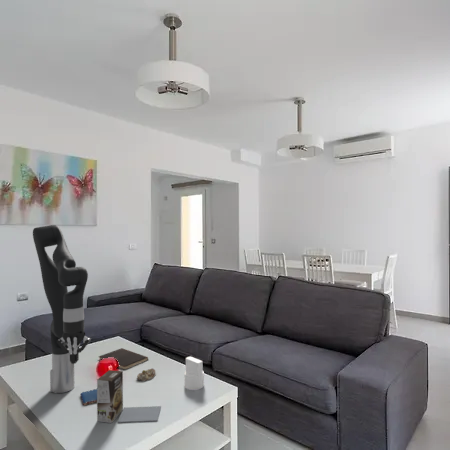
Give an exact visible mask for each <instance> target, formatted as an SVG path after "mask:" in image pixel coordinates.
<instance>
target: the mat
mask: <svg viewBox="0 0 450 450" xmlns="http://www.w3.org/2000/svg"><path fill="white" fill-rule="evenodd" d="M161 407H162V406H161V405H159V406H157V405H156V406H153V405H152V406H133V407H132V406H129V407H128V406H125V407H124V406H123V411H122V412H121V413H120V414H119V415H120V416H119V418H118V420H117V424H119V423H121V424H123V423H145V422H146V423H147V422H148V423H149V422H158V421H159V417H160V412H161Z"/></svg>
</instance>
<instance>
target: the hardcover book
mask: <svg viewBox="0 0 450 450" xmlns="http://www.w3.org/2000/svg"><path fill="white" fill-rule="evenodd" d="M108 357H114V358H116V359H117V360H118V362H119V365H120V367H119V368H120V369H122V370H127V369H129V368H132V367H134V366H137V365H139V364H141V363H143V362H147V361H148V360H149V357H148V356H146V355H143V354H140V353H138V352H135V351H131V350H129V349H126V348H118V349H116V350H112V351H109V352H108V353H104V354H101V355H99V356H98V358H99V360H100V359H103V358H108Z"/></svg>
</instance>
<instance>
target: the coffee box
mask: <svg viewBox="0 0 450 450" xmlns="http://www.w3.org/2000/svg"><path fill="white" fill-rule="evenodd" d="M123 375H124V372H123V370H110V369H109V370H107V371H106V372H105V373H104V374H102V375H101V376H100V377H99V378H97V379H96V380H97V381H96V382H97V383H96V387H97V388H96V389H97V403H96V421H97V422H100V423H109V424H111V423H113V422H114V421H115V420H116V419H117V418H118V416H119V415H121V413H122V411H123V409H124V385H123V384H124V379H123V377H124V376H123Z"/></svg>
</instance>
